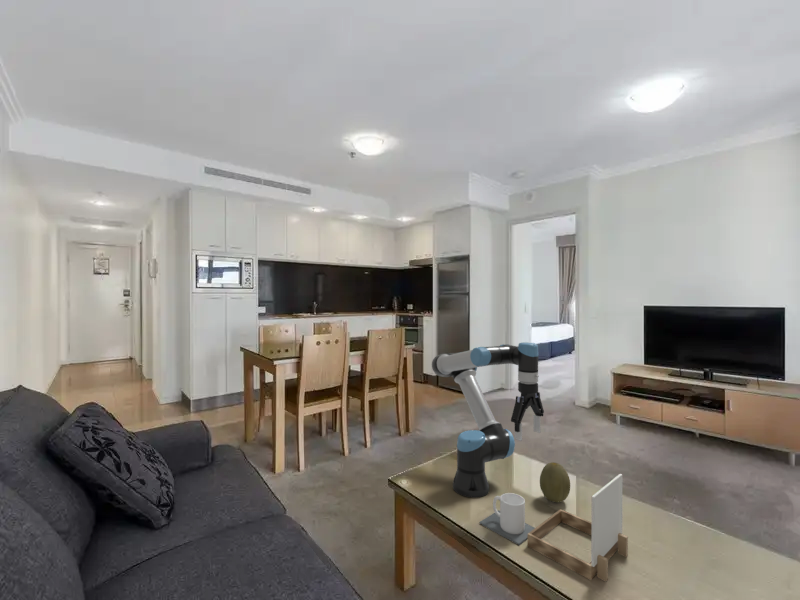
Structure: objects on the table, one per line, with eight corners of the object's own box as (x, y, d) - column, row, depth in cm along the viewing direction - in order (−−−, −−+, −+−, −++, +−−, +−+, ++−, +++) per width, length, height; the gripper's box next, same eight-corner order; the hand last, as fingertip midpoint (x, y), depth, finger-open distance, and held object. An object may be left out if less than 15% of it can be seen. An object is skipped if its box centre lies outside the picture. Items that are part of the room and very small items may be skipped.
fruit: (555, 491, 160) (555, 455, 160) (576, 504, 150) (576, 466, 150) (533, 496, 156) (533, 459, 156) (553, 510, 146) (553, 471, 146)
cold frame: (527, 546, 124) (527, 534, 124) (560, 520, 139) (560, 509, 139) (590, 580, 109) (590, 566, 109) (620, 546, 124) (620, 534, 124)
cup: (516, 538, 128) (517, 507, 128) (486, 522, 136) (486, 494, 136) (529, 528, 133) (529, 499, 133) (499, 513, 142) (499, 486, 142)
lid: (591, 579, 110) (591, 496, 110) (619, 547, 124) (620, 473, 124) (602, 585, 107) (603, 500, 107) (630, 552, 122) (630, 476, 122)
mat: (479, 523, 137) (479, 522, 137) (498, 511, 145) (498, 510, 145) (519, 545, 125) (519, 543, 125) (537, 530, 133) (537, 529, 133)
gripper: (518, 388, 140) (518, 446, 140) (552, 379, 156) (552, 431, 156) (501, 384, 146) (501, 440, 146) (536, 376, 162) (535, 426, 162)
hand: (527, 435), depth 151 cm, fingers open, 13 cm apart
